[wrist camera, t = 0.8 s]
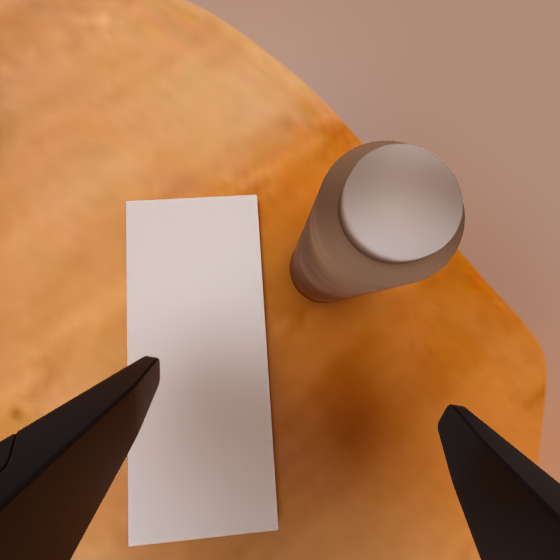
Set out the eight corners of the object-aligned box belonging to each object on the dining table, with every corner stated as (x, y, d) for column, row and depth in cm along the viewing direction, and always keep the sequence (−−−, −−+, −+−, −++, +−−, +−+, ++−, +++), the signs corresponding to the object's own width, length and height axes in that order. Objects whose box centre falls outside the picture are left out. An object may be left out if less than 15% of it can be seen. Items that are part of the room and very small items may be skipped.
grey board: (277, 518, 21) (278, 530, 20) (136, 533, 21) (128, 546, 19) (257, 200, 24) (256, 194, 23) (133, 207, 24) (126, 201, 22)
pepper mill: (360, 300, 23) (496, 276, 10) (292, 305, 23) (330, 287, 9) (353, 233, 24) (471, 120, 10) (287, 237, 24) (315, 126, 10)
